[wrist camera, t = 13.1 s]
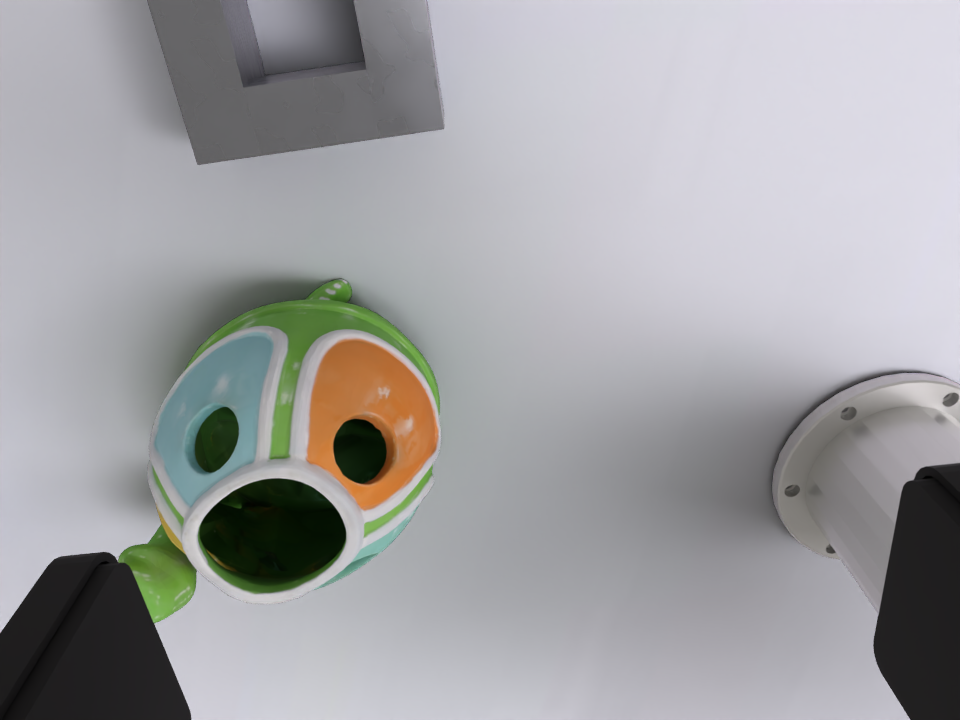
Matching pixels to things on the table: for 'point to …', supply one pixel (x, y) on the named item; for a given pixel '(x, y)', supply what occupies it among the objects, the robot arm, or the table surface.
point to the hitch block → (296, 81)
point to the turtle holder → (287, 453)
